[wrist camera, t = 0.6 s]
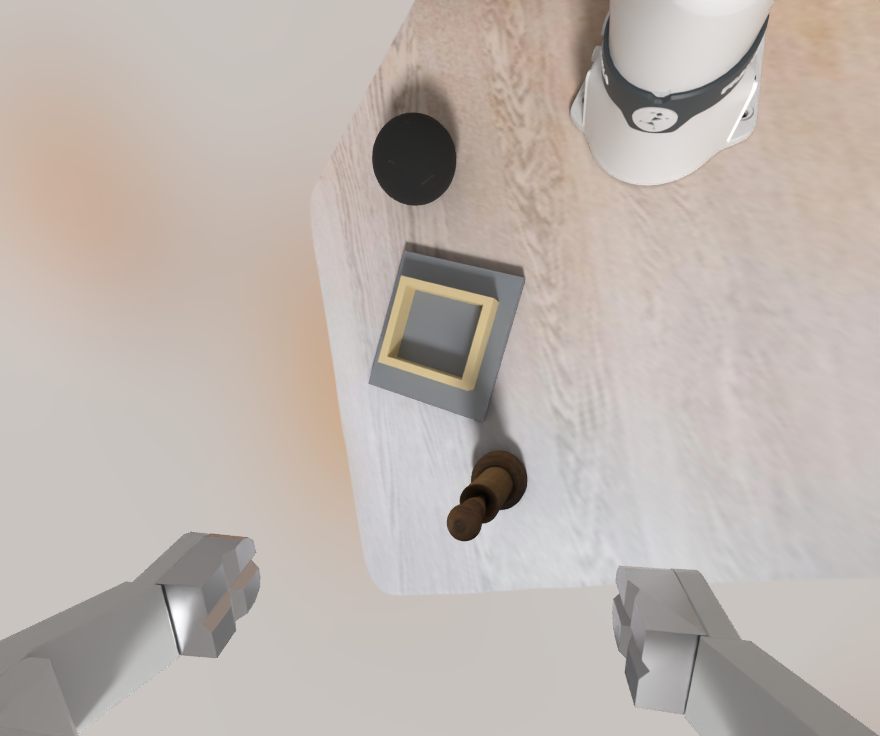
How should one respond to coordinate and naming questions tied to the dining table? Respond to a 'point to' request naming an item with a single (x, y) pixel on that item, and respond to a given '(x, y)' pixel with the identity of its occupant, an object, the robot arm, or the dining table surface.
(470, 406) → the holder
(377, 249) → the dining table surface
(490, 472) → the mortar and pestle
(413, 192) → the speaker
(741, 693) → the robot arm
